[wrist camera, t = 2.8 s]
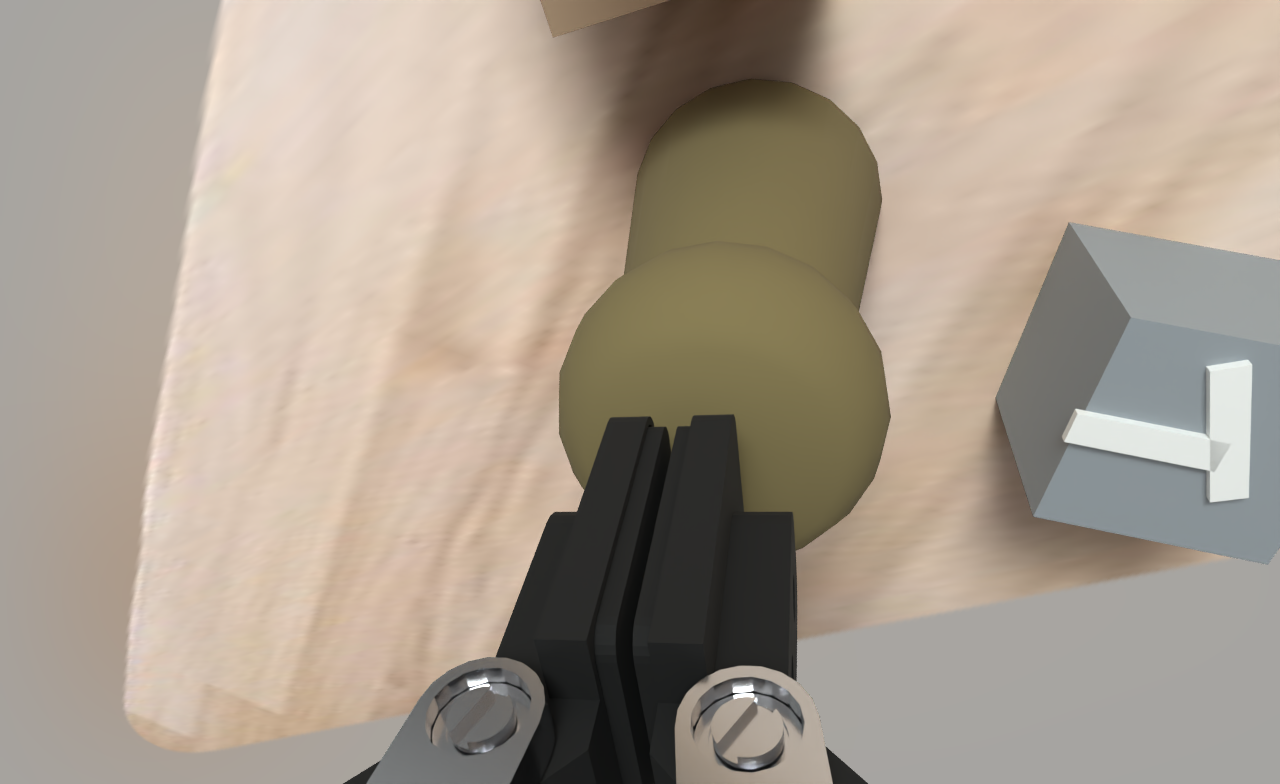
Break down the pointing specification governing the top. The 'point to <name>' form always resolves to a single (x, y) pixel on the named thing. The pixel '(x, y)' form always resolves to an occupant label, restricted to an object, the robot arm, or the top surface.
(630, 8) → the walnut numeral block
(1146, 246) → the slate numeral block
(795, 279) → the cork
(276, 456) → the top surface
